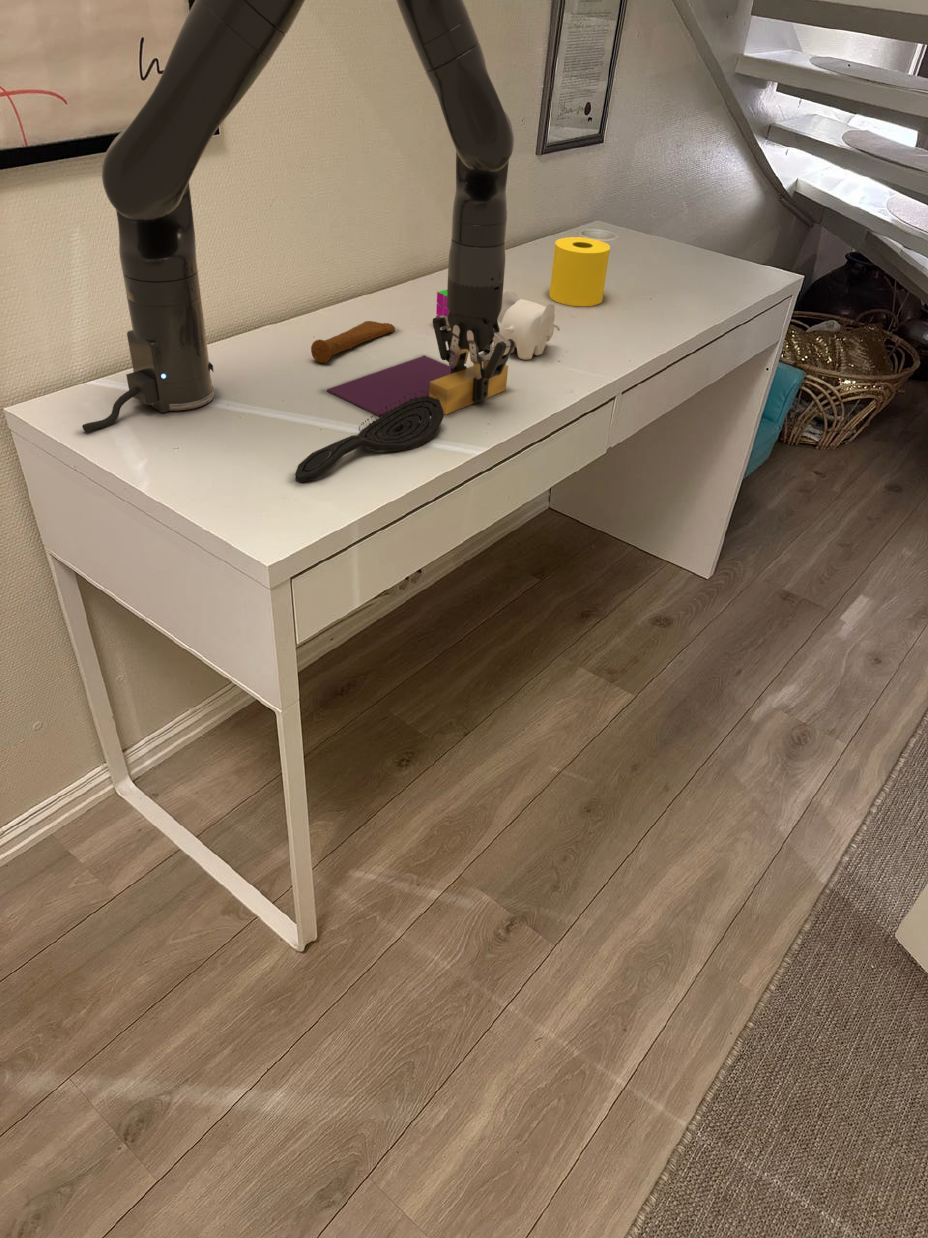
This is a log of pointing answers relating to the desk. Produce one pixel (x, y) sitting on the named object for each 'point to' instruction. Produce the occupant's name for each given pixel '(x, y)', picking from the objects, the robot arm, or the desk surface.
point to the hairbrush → (381, 435)
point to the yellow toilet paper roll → (579, 271)
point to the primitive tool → (348, 339)
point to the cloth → (392, 385)
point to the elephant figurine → (526, 324)
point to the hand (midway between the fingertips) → (468, 395)
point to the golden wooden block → (463, 388)
